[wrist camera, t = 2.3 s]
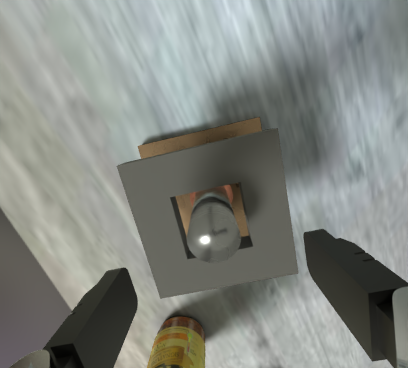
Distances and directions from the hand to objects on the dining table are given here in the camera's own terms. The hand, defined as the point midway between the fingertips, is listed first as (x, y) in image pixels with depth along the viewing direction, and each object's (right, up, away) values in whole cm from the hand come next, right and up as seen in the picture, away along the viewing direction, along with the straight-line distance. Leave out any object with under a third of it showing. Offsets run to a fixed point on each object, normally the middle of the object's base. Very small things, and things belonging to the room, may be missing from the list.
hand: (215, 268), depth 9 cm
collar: (0, +2, +6) cm, 6 cm away
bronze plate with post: (0, +3, +13) cm, 13 cm away
